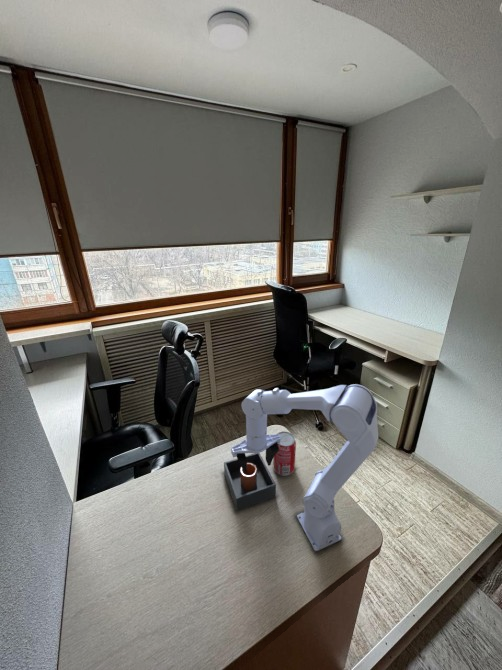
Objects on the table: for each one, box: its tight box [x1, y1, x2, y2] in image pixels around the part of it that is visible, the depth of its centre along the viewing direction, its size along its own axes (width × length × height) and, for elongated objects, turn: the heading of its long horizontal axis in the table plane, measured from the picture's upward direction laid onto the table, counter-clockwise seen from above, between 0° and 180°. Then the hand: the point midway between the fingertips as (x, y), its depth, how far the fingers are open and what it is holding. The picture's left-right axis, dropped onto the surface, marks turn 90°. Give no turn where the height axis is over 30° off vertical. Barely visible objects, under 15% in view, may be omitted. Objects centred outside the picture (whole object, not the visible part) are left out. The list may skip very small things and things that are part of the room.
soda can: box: [272, 430, 297, 476], centre depth 87 cm, size 7×7×13 cm
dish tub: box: [223, 452, 277, 512], centre depth 83 cm, size 13×12×5 cm
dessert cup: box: [240, 463, 257, 491], centre depth 83 cm, size 5×5×6 cm
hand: (256, 466), depth 79 cm, fingers open, 7 cm apart
